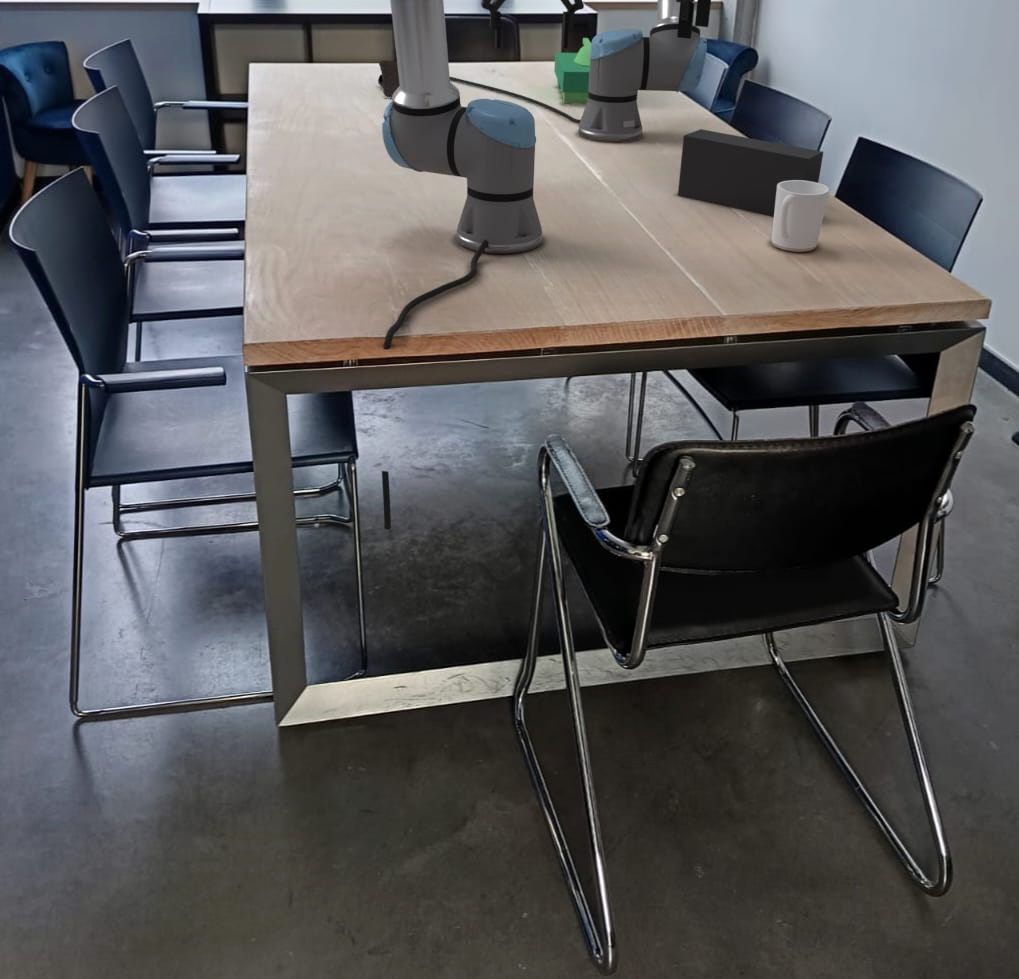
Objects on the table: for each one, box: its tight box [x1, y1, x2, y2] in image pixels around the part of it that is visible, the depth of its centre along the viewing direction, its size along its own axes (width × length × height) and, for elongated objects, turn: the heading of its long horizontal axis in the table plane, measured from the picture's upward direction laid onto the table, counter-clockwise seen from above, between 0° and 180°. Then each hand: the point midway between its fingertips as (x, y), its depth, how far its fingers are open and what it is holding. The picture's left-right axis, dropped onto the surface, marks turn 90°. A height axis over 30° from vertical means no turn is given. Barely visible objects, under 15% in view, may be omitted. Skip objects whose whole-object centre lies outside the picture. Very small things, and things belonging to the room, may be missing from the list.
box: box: [677, 128, 824, 217], centre depth 214 cm, size 26×7×12 cm, turn 53°
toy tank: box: [554, 37, 592, 104], centre depth 300 cm, size 18×12×35 cm
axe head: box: [377, 59, 400, 98], centre depth 299 cm, size 18×8×15 cm
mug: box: [770, 180, 830, 253], centre depth 193 cm, size 11×9×10 cm
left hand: (531, 47), depth 220 cm, fingers open, 13 cm apart
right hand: (692, 32), depth 224 cm, fingers open, 13 cm apart
